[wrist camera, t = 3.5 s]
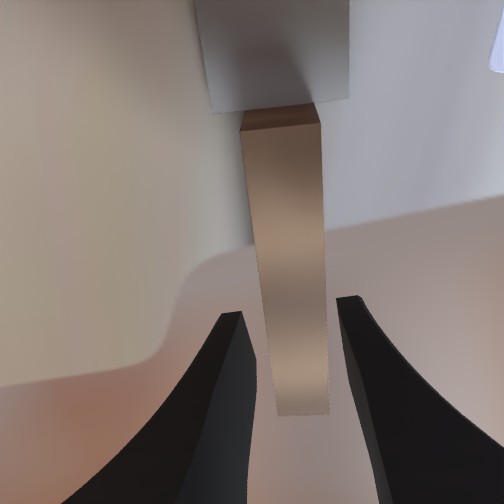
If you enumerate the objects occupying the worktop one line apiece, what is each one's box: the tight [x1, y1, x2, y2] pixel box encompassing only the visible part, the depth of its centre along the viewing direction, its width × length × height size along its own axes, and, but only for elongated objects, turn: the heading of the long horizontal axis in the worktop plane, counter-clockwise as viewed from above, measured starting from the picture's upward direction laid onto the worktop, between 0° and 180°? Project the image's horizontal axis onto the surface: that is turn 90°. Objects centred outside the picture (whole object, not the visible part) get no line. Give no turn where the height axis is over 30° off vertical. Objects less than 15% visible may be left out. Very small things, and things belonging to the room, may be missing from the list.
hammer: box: [194, 0, 349, 416], centre depth 17 cm, size 19×5×4 cm, turn 7°
